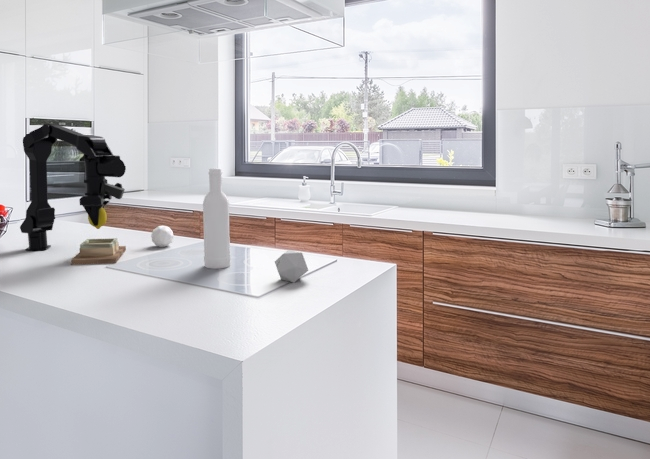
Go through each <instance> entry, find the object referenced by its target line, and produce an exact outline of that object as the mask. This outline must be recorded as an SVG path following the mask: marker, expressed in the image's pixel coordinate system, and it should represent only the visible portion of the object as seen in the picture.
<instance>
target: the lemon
mask: <svg viewBox="0 0 650 459" xmlns="http://www.w3.org/2000/svg"><path fill="white" fill-rule="evenodd" d="M87 218H88V219H87V220H88V222H89V224H90V225H91V226H92V227H94V228H96V229H97V230H99V229H101V227H104V226H105V225H106V223H107V218H108V216H107V212H106V209H105V208H101V209H100V213H99V221H98V226H94V224H93V223H92V221H91V219H90V217H89V215H88V214H87Z"/></svg>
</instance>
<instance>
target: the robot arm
mask: <svg viewBox="0 0 650 459" xmlns="http://www.w3.org/2000/svg"><path fill="white" fill-rule="evenodd" d="M58 140H59V141H62V142H65V143H67V144H69V145H73V146H74V147H75V148H76V150H77V151H79V152H81V154H83V155H82V157H80V158H79V159H78V160H79V162H83V163H84V173H85V174H84V176H85V177H84V178H85V179H83V183H84V184H85V190H86V191H85V192H84V195H82V196H81V197H80V198H79V206H82V207H83V208H84V210H85V212H86V213H87V216H88V215H89V217H90V219H91V221H92V223H93V224H94V226H98V221H99V213H100V209H101V208H104V209H105V207H106V205H108V204H109V203H110V202H111V201H110V200H112V198H115V199H117V200H121V199H123V196H124V193H125V188H124V187H123V184H122V183H121V182H116V183H115V184H110V183H108V179H107V178H121V177H123V176H124V175H125V173H126V170H127V169H126V164H125V162H124V161H123V160H122V159H121V155H114V154H113V151H112V150H111V148H110V147H109V145H108V143H107V142H106V139H105V138H104V137H103V136H98V135H89V134H84V133H80V132H78V131H75V130H73V129H70V128H67V127H65V126H62V125H61V124H59V123H50V122H49V123H44V124H43V125H42V126H40V127H39V128H35V129H34V130H32V131H30V132H29V133H27V134H25V136H23V138H22V146H23V147H22V148H23V151H24V154H25V155H26V156H27V159H29V170H30V174H29V176H30V200H31V202H30V204H29V205H28V207H27V209H26V211H25V218H24V220H23V221H22V223H21V225H20V226H19V229H20V232H21V234H27V238H28V240H27V241H28V247H26V248H25V251H45V250H48V249H50V248H51V247H52V245H51V244H48V234H47V232H48V231H52V230H53V228H54V227H53V226H54V223H55V219H56V216H55V215H56V214H55V212H56V209H55V207H52V206H51V204H50V203H49V202H48V201H49V200H48V194H49V193H48V168H47V166H48V163H47V162H48V160H49V157H50V155H51V154H52V150H53V149H52V148H53V146H54V145H55V144H56V143H57V142H58ZM106 177H107V178H106ZM106 199H107V200H106ZM94 226H93V227H94Z"/></svg>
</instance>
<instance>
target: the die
mask: <svg viewBox="0 0 650 459" xmlns="http://www.w3.org/2000/svg"><path fill="white" fill-rule="evenodd" d="M274 264H275V267H276V269H277V272H278V276H279V278H280V280H282V281H286V280H287V282H291V283H296V282H297V281H298V280H299V279H300V278H301V277H302V276H304V275H305V274H306V273H307V272H308V271H309V269H308V265H307V263H306V260H305V257H304V254H303V252H300V251H296V250H292V249H287V251H285V252H284V253H282V254H281V255H280V256H279V257H278V258H277V259H276V260H274Z"/></svg>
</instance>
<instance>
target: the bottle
mask: <svg viewBox="0 0 650 459" xmlns="http://www.w3.org/2000/svg"><path fill="white" fill-rule="evenodd" d="M208 169H209V170H208V175H209V177H208V178H209V192H207V194H206V195H205V196H204V199H203V202H202V212H203V213H202V216H203V218H202V220H203V247H204V248H203V249H204V250H203V252H204V254H203V255H204V256H203V262H204V267H205V268H207V269H213V270H219V269H227V268H229V267H230V266H231V243H230V241H231V239H230V232H231V231H230V202H229V199H228V196H227V195H226V193H225V192H223V191H222V190H223V187H222V186H223V185H222V184H223V183H222V181H223V180H222V179H223V177H222V174H223V172H222V168H220V167H210V168H208Z"/></svg>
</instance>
